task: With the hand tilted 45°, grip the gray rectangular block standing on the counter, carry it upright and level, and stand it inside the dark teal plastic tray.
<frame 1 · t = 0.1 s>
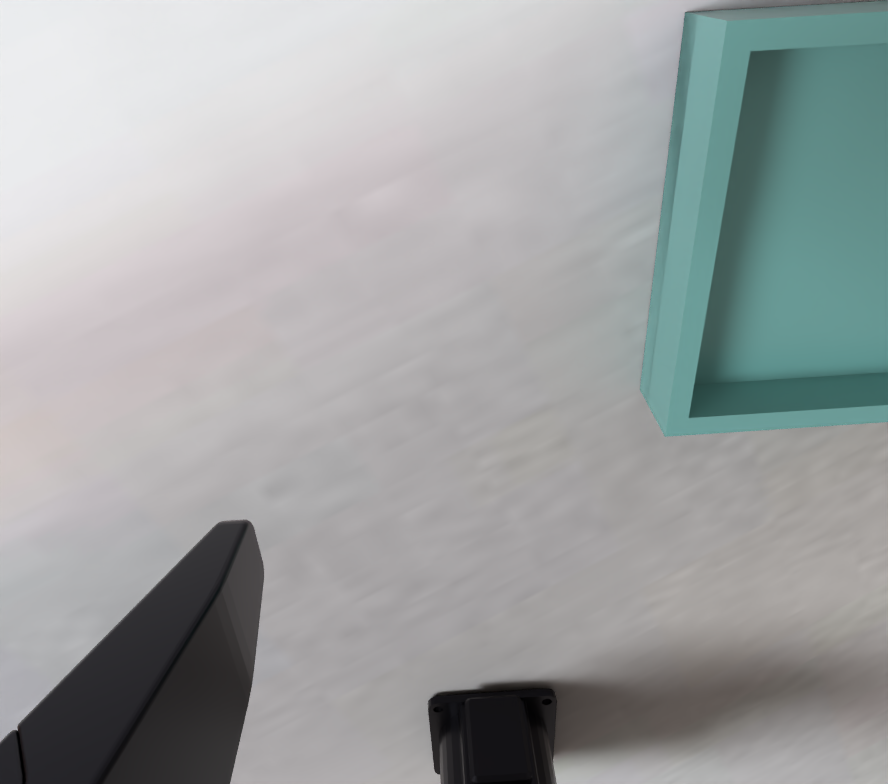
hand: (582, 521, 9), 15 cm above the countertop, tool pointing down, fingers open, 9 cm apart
tray: (847, 216, 23), on the countertop
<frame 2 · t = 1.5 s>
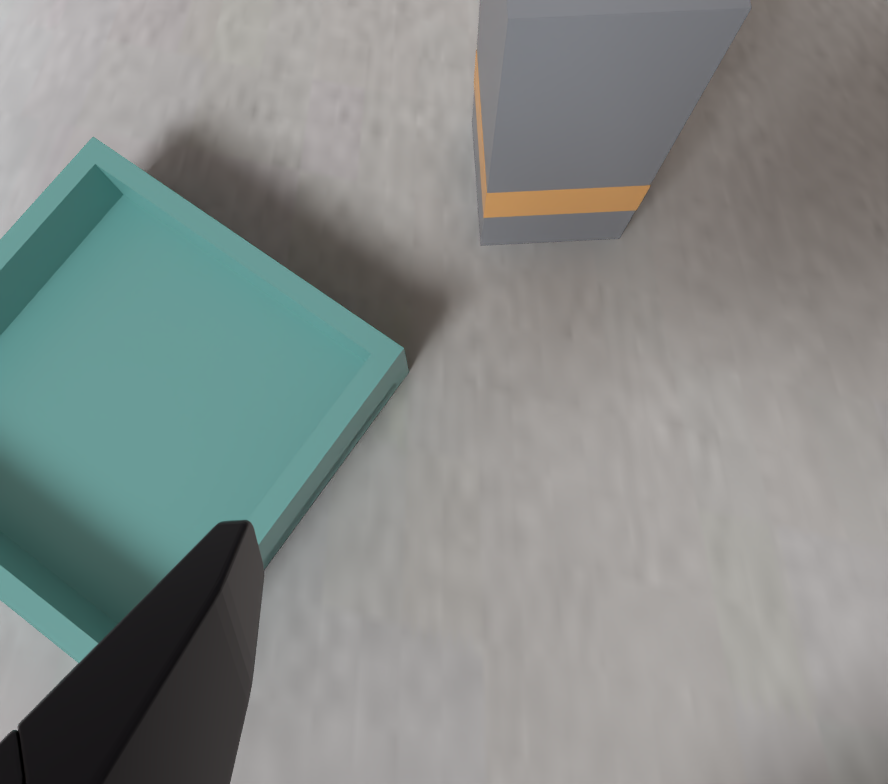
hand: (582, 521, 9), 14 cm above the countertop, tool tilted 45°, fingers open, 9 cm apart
gray rectangular block: (544, 178, 25), on the countertop
tray: (154, 415, 24), on the countertop
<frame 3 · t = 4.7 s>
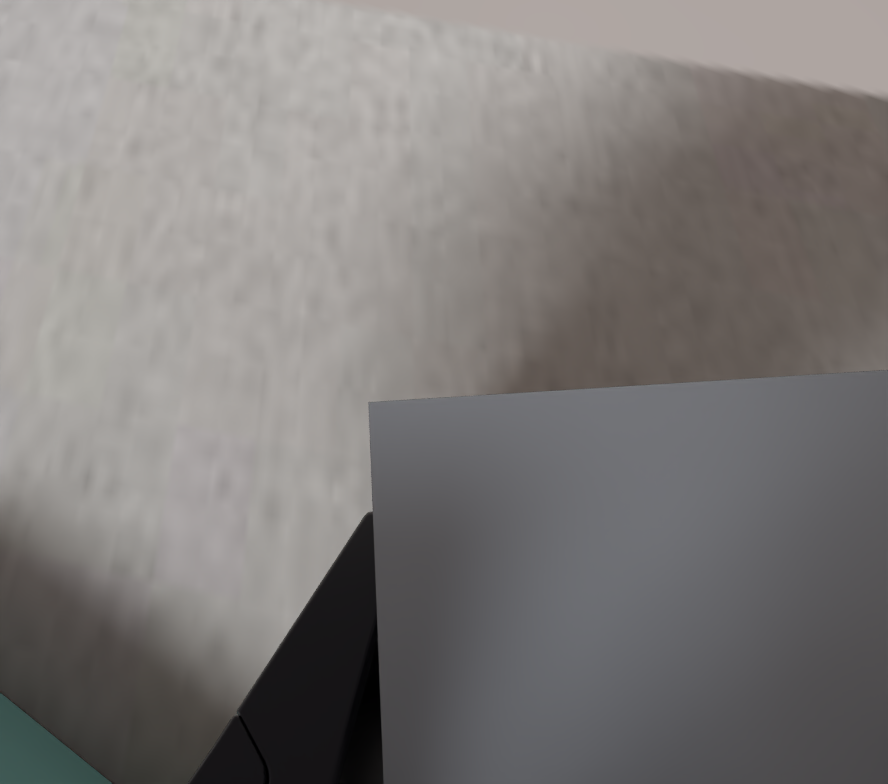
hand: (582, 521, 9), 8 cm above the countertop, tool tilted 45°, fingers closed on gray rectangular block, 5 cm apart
gray rectangular block: (526, 591, 17), on the countertop, touching gripper
when the fingers open (10 cm above the countertop, at t = 9.1 s): gray rectangular block drops 1 cm, resting on tray.
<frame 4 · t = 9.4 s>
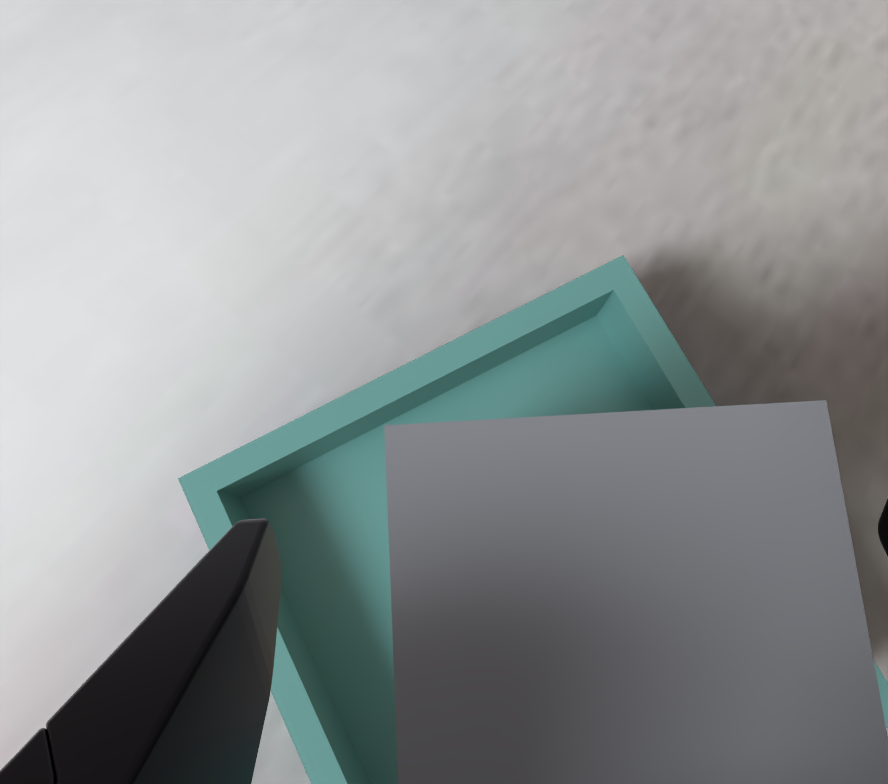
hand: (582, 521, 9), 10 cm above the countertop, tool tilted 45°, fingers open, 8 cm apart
gray rectangular block: (520, 587, 18), point 1 cm above the countertop, touching tray
tray: (516, 585, 19), on the countertop
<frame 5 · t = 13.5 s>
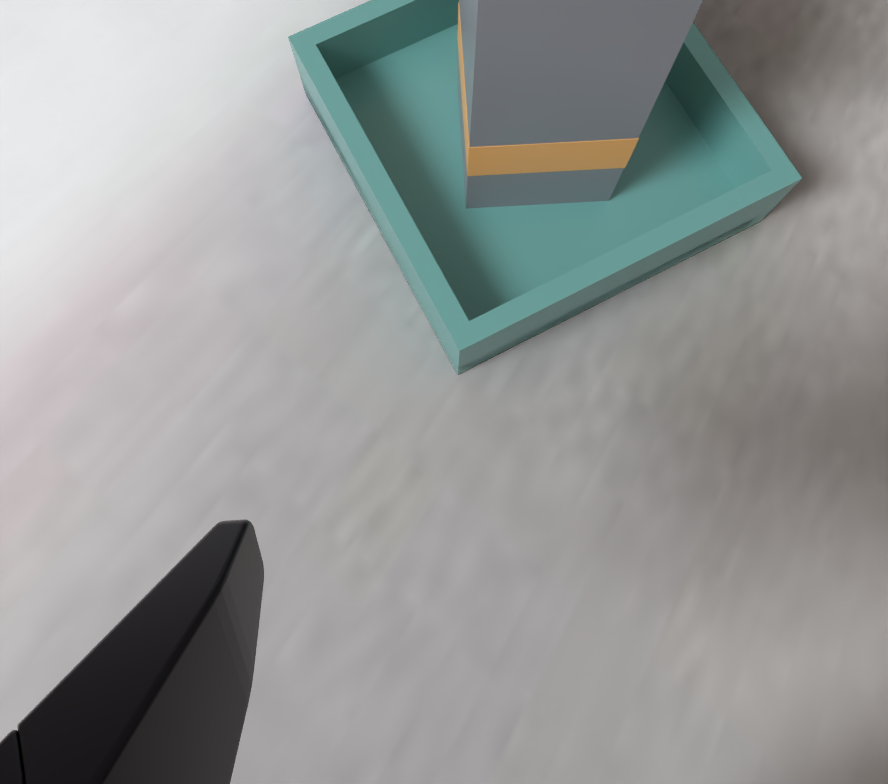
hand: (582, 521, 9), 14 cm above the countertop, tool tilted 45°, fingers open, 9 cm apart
gray rectangular block: (531, 140, 25), point 1 cm above the countertop, touching tray
tray: (527, 155, 26), on the countertop
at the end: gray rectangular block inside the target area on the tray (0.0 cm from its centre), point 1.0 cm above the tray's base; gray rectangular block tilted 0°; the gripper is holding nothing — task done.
